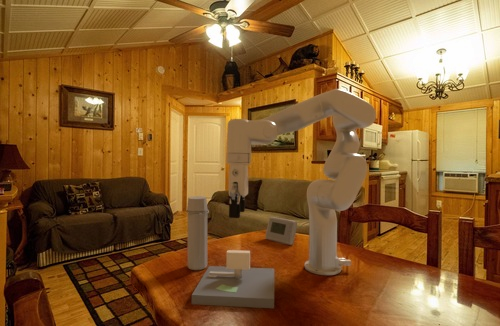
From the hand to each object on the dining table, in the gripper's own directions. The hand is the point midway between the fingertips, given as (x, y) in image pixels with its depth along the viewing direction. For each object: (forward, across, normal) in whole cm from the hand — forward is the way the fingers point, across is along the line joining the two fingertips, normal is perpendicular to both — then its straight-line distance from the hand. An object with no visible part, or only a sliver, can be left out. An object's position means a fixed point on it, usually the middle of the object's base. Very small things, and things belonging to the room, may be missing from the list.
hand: (237, 214), depth 86 cm
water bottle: (+22, +10, +15) cm, 29 cm away
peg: (+19, -1, +2) cm, 19 cm away
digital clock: (+21, +46, -14) cm, 53 cm away
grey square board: (+22, -3, -1) cm, 22 cm away
